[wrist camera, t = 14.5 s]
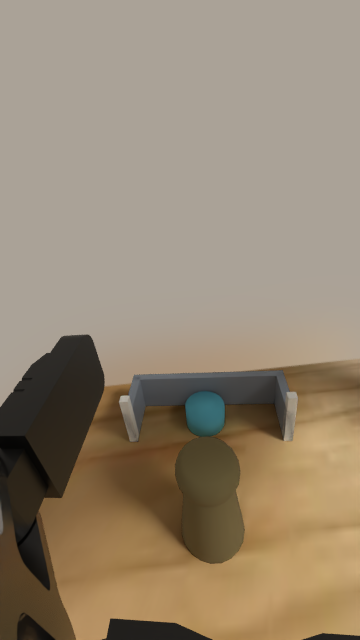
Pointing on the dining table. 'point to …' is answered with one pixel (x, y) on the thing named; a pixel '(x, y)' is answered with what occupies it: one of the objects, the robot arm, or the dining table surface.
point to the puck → (205, 413)
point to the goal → (225, 384)
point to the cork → (210, 499)
